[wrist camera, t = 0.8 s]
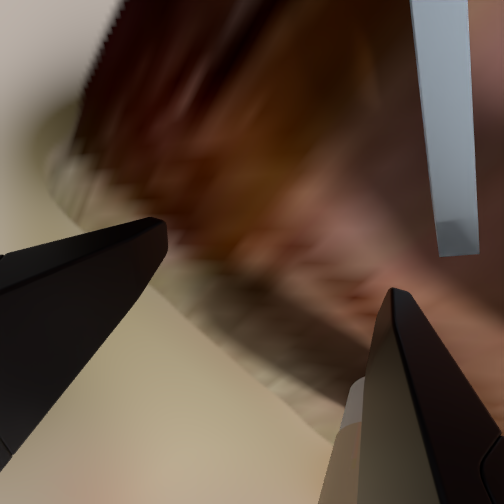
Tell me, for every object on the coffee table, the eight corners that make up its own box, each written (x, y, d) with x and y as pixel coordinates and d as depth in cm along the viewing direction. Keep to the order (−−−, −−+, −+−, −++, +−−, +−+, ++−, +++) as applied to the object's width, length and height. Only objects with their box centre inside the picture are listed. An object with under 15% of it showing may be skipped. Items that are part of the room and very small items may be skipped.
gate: (399, -92, 12) (395, -155, 8) (438, -112, 12) (457, -192, 7) (430, 191, 17) (439, 257, 12) (459, 187, 16) (479, 253, 12)
